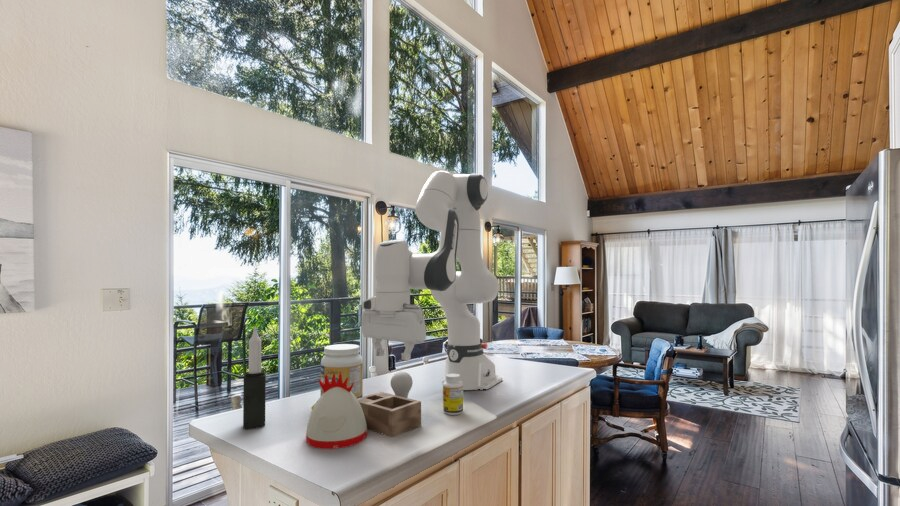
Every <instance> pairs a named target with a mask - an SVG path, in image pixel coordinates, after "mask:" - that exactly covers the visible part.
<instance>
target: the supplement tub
mask: <svg viewBox="0 0 900 506" xmlns="http://www.w3.org/2000/svg"><path fill="white" fill-rule="evenodd" d="M360 347H361V346H360V345H359V344H355V343H353V344H352V343H339V344H331V345H326V346H324V348H323V354H324V356H323V357H322V358H321V360H320V380H321V381H322V382H323V383H325V375H326V374H327V376H328V379H329V382H330V383H331V382H332V377H333V374H334V373H335V378H336V382H338V378H339V374H340V373H341V375H342V381H343V383H344V382H345V380H346V378H347V377H348V381H347V387H350V386H351V385H352V383H353V382H354V385H353V387H352V389H351V392H352V393H353V394H354V395H355V397H356V398H361V397H364V396H363V393H364V392H363V384H364V383H363V381H364V380H363V379H364V376H363V375H364V371H363V370H364V363H363V362H364V359H363V357H362V355H361V354H360V353H361V349H360ZM323 393H324V392H323V390H322V388H321V387H320V396H321V395H322V394H323Z"/></svg>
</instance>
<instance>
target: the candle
mask: <svg viewBox="0 0 900 506" xmlns="http://www.w3.org/2000/svg"><path fill="white" fill-rule="evenodd" d="M257 329H258V328H257V327H256V326H254V327H253V332H252V334H251V337H250V339H249V340H248V371H246V372H245V373H244V375H243V402H242V403H243V405H242V407H243V408H242V409H243V411H242V412H243V413H242V416H243V418H242V419H243V420H242V430H252V429H261V428H264V427H265V426H266V391H267V390H266V386H267V385H266V380H267V378H266V377H267V375H266V372H265V371H264V370H262V339H261V338H260V336H259V332H258V330H257Z"/></svg>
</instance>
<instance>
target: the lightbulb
mask: <svg viewBox="0 0 900 506" xmlns="http://www.w3.org/2000/svg"><path fill="white" fill-rule="evenodd" d="M413 382H414V381H413V378H412V376H411V375H410V373H409V372H407V371H402V370H401V371H397V372H395V373H394V374H393V376H392V377H391V378H390V387H391V390H392V391H393V393H394V395H397V396H401V397H405V398H409V393H410V391H411V389H412V387H413Z"/></svg>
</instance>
